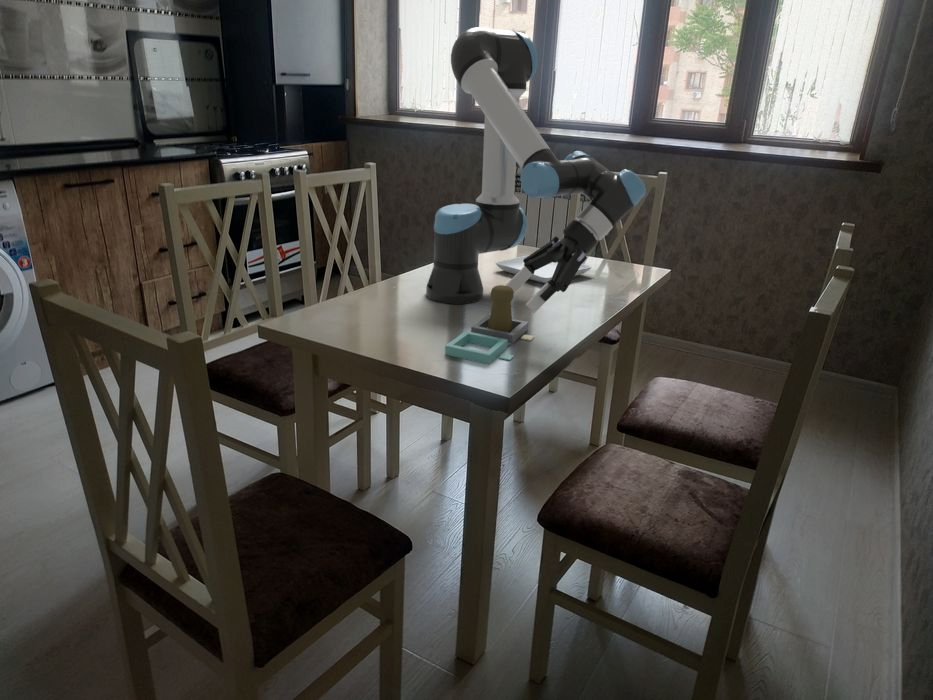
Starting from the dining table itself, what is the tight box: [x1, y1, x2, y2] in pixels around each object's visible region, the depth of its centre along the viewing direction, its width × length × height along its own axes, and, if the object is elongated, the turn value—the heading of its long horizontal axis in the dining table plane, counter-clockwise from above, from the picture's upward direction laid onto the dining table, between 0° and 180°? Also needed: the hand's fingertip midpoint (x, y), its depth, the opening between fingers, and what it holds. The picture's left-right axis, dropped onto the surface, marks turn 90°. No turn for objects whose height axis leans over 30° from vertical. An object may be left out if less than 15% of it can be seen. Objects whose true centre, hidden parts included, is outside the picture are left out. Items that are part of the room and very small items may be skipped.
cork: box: [487, 284, 515, 333], centre depth 150 cm, size 6×6×11 cm
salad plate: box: [495, 254, 592, 284], centre depth 200 cm, size 21×21×3 cm
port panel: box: [444, 314, 536, 365], centre depth 145 cm, size 13×23×2 cm, turn 155°
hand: (518, 299), depth 148 cm, fingers open, 13 cm apart
